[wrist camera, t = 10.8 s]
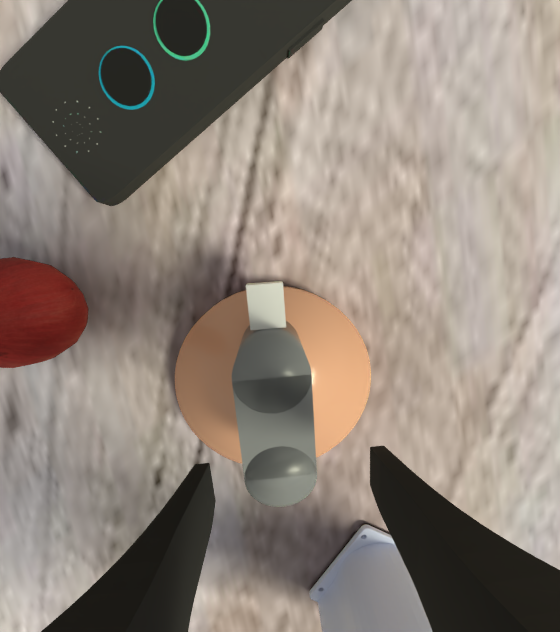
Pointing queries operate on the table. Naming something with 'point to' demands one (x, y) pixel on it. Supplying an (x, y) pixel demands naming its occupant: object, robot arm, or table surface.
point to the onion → (37, 312)
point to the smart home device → (147, 77)
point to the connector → (274, 402)
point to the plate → (321, 351)
